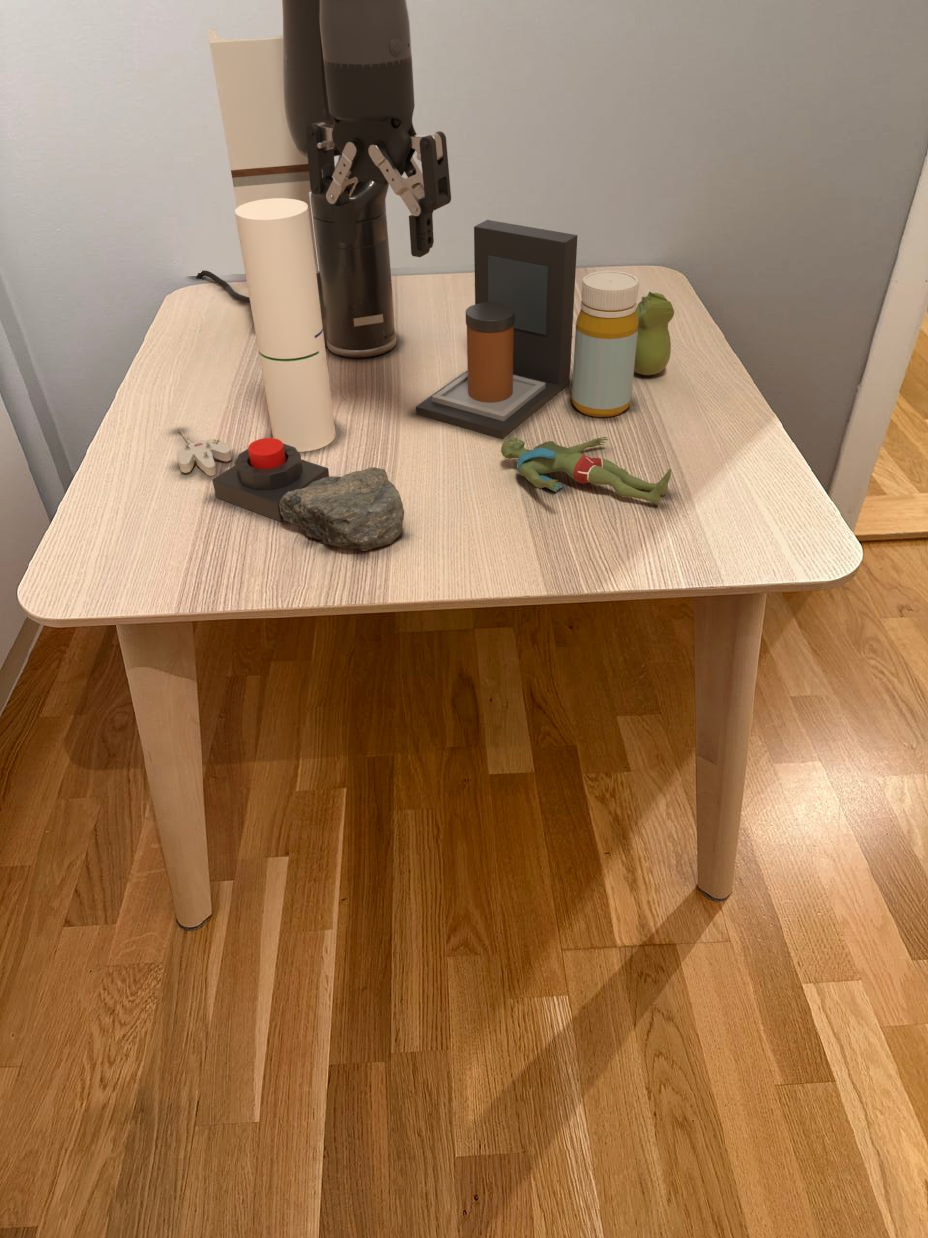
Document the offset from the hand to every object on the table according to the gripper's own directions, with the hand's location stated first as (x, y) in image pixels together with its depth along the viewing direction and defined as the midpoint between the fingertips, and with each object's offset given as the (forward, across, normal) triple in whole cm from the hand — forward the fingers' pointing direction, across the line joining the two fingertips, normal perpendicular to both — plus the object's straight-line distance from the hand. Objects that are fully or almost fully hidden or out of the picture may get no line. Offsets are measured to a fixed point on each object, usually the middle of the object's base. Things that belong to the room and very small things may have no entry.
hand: (383, 248), depth 89 cm
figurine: (+23, -20, -5) cm, 31 cm away
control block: (+22, +8, +12) cm, 27 cm away
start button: (+19, +8, +13) cm, 24 cm away
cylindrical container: (+23, +12, +1) cm, 26 cm away
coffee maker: (+22, -2, -18) cm, 29 cm away
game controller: (+22, +21, +10) cm, 32 cm away
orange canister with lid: (+21, -2, -16) cm, 27 cm away
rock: (+23, -3, +15) cm, 27 cm away
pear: (+23, -15, -33) cm, 43 cm away
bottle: (+23, -14, -22) cm, 35 cm away
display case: (+22, +38, -27) cm, 52 cm away
